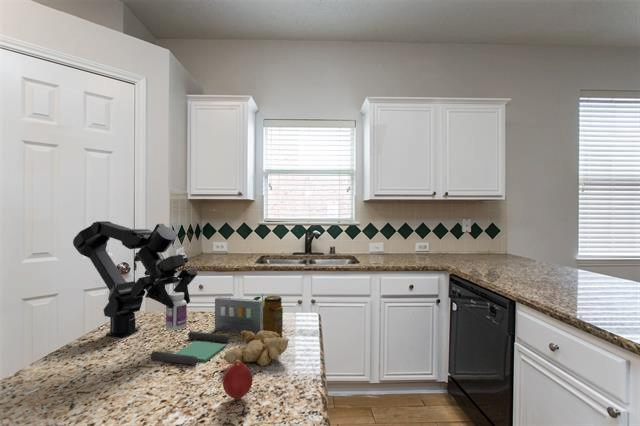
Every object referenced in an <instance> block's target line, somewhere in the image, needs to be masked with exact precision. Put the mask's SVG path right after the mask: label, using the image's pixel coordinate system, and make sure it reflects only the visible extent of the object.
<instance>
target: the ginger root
mask: <svg viewBox="0 0 640 426" xmlns="http://www.w3.org/2000/svg"><path fill="white" fill-rule="evenodd" d="M240 338H241V341H244V343H245V344H246V345H245V346H244V347H240V348H239V347H237V348H235V347H234V348H231V349H229V350H228V351H227V352H225V354H224V356H223V358H222V359H223V360H225V362H226V363H227V364H229V365H234V364H235V363H234V362H235V361H236V360H240V361H241V363H248V362H249V363H250V362H257V364H259V365H260V366H263V367H264V366H267V365H268V364H270V362H271V361H272V360H276V359H278V358H279V357H280V356H281V355H282V354H283V353H284V352H285V351H286V350H287V348H288V346H289V340H286V339H285V338H280V335H279V334H277V333H276V332H272V331H260V332H258V333H257V334H255V333H252V332H248V331H245V330H244V331H242V332H240Z"/></svg>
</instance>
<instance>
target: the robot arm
mask: <svg viewBox="0 0 640 426" xmlns="http://www.w3.org/2000/svg"><path fill="white" fill-rule="evenodd" d="M177 236H178V235H177V232H176V231H175V230H174V229H173V228H171V227H169V226H167V225H165V224H164V223H157V224H156V225H155V227H154V229H153V230H151V229H148V228H147V229H145V228H129V227H126V226H123V225H119V224H116V223H112V222H111V221H105V220H104V221H103V220H102V221H94V222H93V223H92V224H91V225H90V226H88V227H86V228H84V229H81V230H80V231H79V232H78V233H77V234H76V236H74V238H73V239H72V244H73V246H74V248H75V249H76V251H77V252H78V253H79V254H80V255H82V256H84V257H86V258H88V259H90V261H91V263H92V264H93V267H94V268H95V270H96V271H97V272H98V274H99V276H100V277H101V279H102V280H103V282H104V283H105V286H106V287H107V289H108V290H109V292H108V293H109V294H108V298H107V301H108V303H107V304H106V305H105V307H104V308H103V315H104V317H106V318H109V319H110V325H109V326H110V327H109V329H110V330H109V332H107V333H105V336H108V337H117V338H123V337H124V338H125V337H127V336H129V335H131V334H133V333H135V332H139V328H136V315H135V314H136V312H140V311H141V308H142V305H143V304H142V303H143V300H144V297H145V298H146V299H147V298H148V299H152V300H154V301H156V302H158V303H160V304H161V305H164V306H165V307H166V306H167V307H169V308H171V309H172V308H173V307H174V304H173V301H172V300H171V298H170V296H169V293H168V291H167V290H166V286H168V285H172V284H173V285H174V289H173V292H174V293H175V292H183V293H184V298H183V299H184V300H185V301H186V302H187V305H188V304H189V303H190V302H191V299H190V298H191V297H190V293H189V286H188V285H190V284H191V283H192V281H193V280H195V278H196V277H197V275H198V274H199V273H198V272H197V271H196V268H193V267H191V268H186V269H182V270H181V271H180V273H179V274H178V275H175V274H177V273H178V272H179V268H181V267H185V266H186V264H187V263H188V262H189V259H188V258H189V257H188V256H187V255H186V253H185V252H180V253H179V254H176V255H170V256H168V257H164V255H163V254H162V253H165V252H167V250H168V249H169V248H170V246H171V245H172V244H173V242H175V240H176V238H177ZM110 238H111V239H113V240H117V241H120V242H121V244H122V246H124V247H125V248H127V249H129V250H138V249H139V250H138V251H137V252H135V256H134V258H133V262H136V263H137V262H141V264H142V265H143V267H144V269H145V272H144V275H145V276H142V277H139V278H138V279H137V280H136V281H135V280H132V281H127V280H126V279H125V278H124V276H123V275H122V273H121V272H120V270H119V269H118V267H117V265H116V264H115V262H114V261H113V259H112V258H111V256H110V254H109V253H108V252H107V246H108V241H109V240H110Z"/></svg>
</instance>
